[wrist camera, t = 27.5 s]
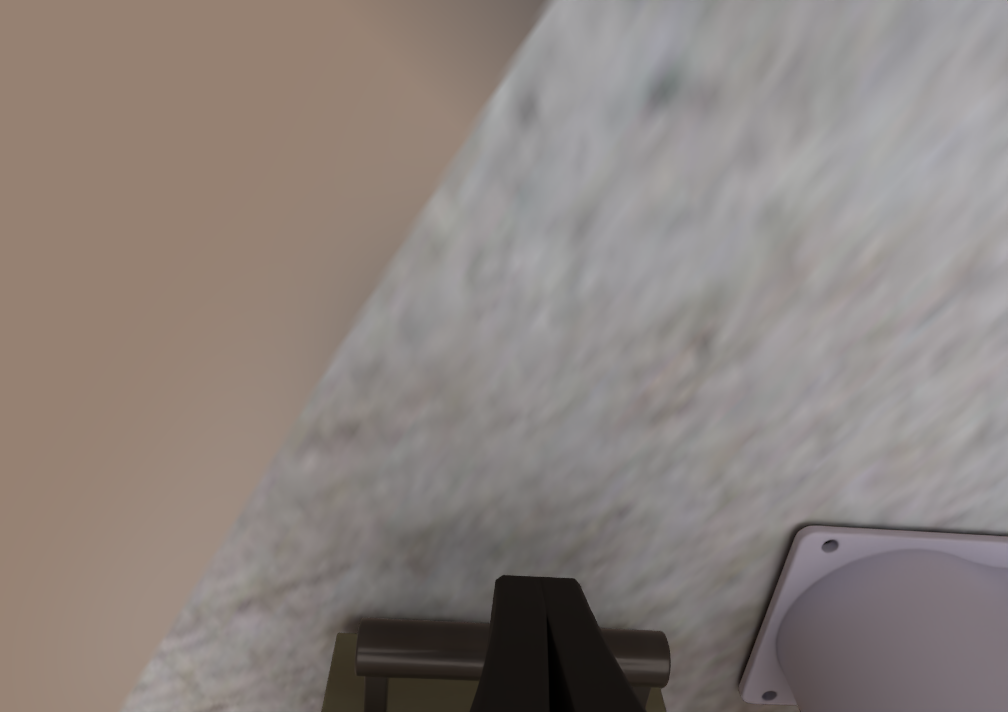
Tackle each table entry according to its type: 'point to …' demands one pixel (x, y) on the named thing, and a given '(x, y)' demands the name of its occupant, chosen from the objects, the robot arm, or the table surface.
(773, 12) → the table surface
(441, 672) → the drawer
